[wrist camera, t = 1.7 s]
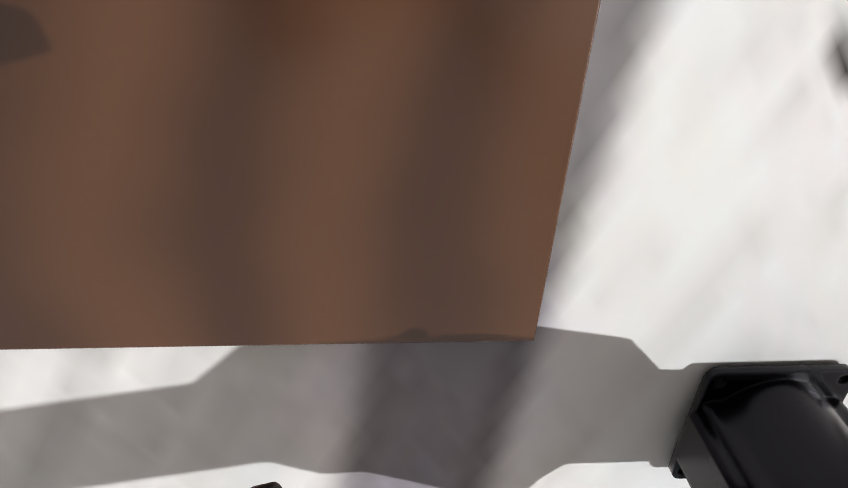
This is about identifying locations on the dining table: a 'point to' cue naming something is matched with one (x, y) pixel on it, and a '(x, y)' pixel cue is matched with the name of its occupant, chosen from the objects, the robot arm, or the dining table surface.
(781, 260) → the dining table surface
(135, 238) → the board
